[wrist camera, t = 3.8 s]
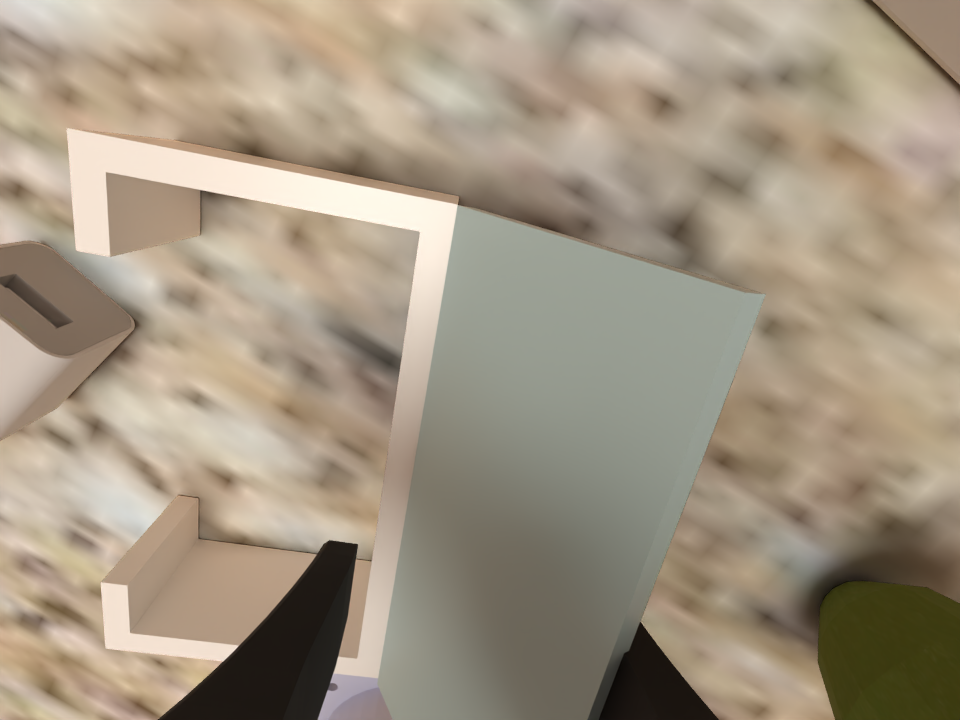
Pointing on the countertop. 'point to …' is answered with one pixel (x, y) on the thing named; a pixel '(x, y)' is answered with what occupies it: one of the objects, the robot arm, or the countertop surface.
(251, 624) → the c-shaped bracket
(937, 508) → the countertop surface
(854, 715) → the olive green rounded lump
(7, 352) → the usb wall charger
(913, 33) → the toaster
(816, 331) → the countertop surface
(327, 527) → the countertop surface
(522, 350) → the cover
